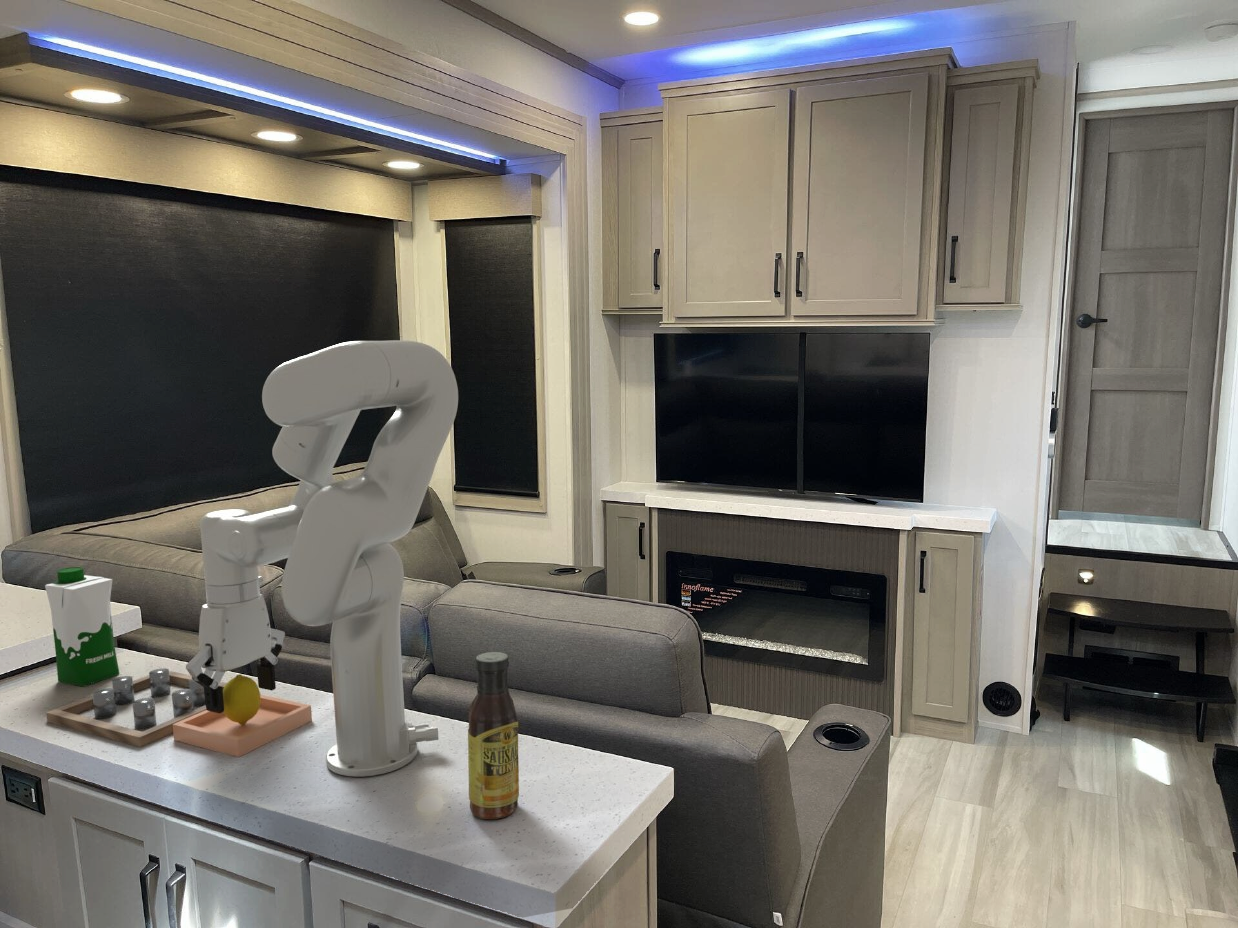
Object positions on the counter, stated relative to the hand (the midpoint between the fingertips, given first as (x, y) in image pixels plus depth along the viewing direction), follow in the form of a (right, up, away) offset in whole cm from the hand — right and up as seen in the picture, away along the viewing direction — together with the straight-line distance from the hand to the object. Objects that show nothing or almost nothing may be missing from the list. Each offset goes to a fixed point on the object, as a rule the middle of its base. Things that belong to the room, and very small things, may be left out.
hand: (242, 699), depth 138 cm
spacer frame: (-19, -4, +10) cm, 22 cm away
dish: (0, -5, +1) cm, 5 cm away
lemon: (0, -4, 0) cm, 4 cm away
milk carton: (-38, -3, +25) cm, 46 cm away
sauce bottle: (+43, -7, -25) cm, 50 cm away
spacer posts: (-19, -4, +10) cm, 22 cm away
